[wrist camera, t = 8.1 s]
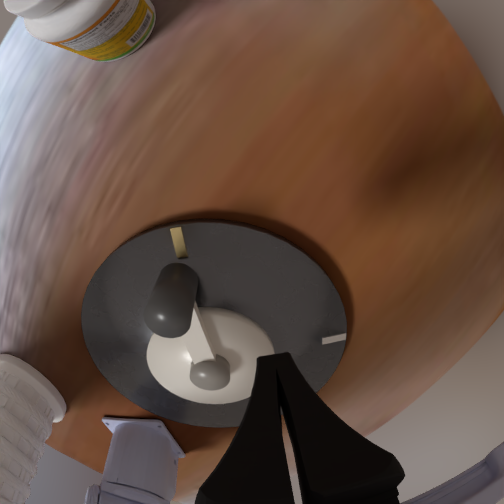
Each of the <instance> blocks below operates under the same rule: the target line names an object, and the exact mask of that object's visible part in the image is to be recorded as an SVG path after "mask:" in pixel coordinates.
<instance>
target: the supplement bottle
mask: <svg viewBox="0 0 504 504" xmlns="http://www.w3.org/2000/svg"><path fill="white" fill-rule="evenodd" d="M4 5H5V8H6V9H7V10H8V11H9V12H11V13H13V14H15V15H18V16H21V17H23V18H24V23H25V26H26V29H27V31H28V32H29V33H30V34H31V35H32V36H33V37H35V38H36V39H39V40H41V41H44V42H47V43H50V44H52V45H55V46H58V47H61V48H64V49H66V50H69V51H72V52H74V53H77V54H79V55H82V56H84V57H87V58H89V59H92V60H95V61H99V62H110V61H116V60H119V59H122V58H124V57H126V56H128V55H130V54H132V53H133V52H135V51H136V50H137V49H138V48H139V47H140V46H142V45H143V43H144V42H145V41H146V40H147V39H148V37H149V36H150V34H151V32H152V30H153V28H154V25H155V20H156V13H155V8H154V6H153V4H152V2H151V0H4Z"/></svg>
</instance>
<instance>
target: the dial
mask: <svg viewBox="0 0 504 504" xmlns="http://www.w3.org/2000/svg"><path fill="white" fill-rule="evenodd" d="M197 287H198V277H197V275H196V273H195V271H194V270H193V269H192V268H191V267H189V266H188V265H186V264H183V263H171V264H168V265H166V266H165V267H164V268H163V269H162V270H161V272H160V274H159V277H158V279H157V281H156V284H155V286H154V288H153V290H152V293H151V295H150V297H149V300H148V302H147V305H146V307H145V309H144V313H143V317H144V321H145V324H146V325H147V327H148V328H149V329H150V330H151V331H152V332H153V333H152V336H151V338H150V341H149V344H148V348H147V363H148V366H149V369H150V371H151V373H152V375H153V376H154V377H155V379H156V380H157V381H158V382H159V383H160V384H161V385H162V386H163V387H164V388H166V389H167V390H169V391H170V392H172V393H173V394H175V395H177V396H179V397H182V398H184V399H187V400H190V401H194V402H198V403H205V404H226V403H232V402H237V401H240V400H243V399H246V398H248V397H250V396H251V392H252V388H253V384H254V379H255V373H256V363H257V362H256V359H257V358H258V357H259V356H265V355H272V354H275V353H274V348H273V344H272V341H271V339H270V337H269V335H268V334H267V333H266V331H265V330H264V329H263V328H262V327H261V326H260V325H259V324H258V323H256V322H255V321H253V320H252V319H250V318H248V317H247V316H245V315H243V314H240V313H238V312H235V311H231V310H228V309H223V308H216V307H197V304H196V301H195V298H196V293H197Z"/></svg>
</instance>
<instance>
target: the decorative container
mask: <svg viewBox="0 0 504 504" xmlns="http://www.w3.org/2000/svg"><path fill="white" fill-rule="evenodd" d="M65 412H66V403H65V401H64V399H63V397H62V395H61V394H60V393H59V391H58V390H57V389H56V388H55V386H54V385H53V384H52V383H51V382H50V381H49V380H48V379H47V378H46V377H45V376H43V375H42V374H41V373H40V372H39V371H38V370H36V369H35V368H34V367H32V366H31V365H30V364H28V363H26V362H25V361H23V360H21V359H20V358H17V357H15V356H12V355H10V354H0V504H25V500H26V498H28V497H29V496H30V488H29V486H30V483H31V480H32V478H34V477H35V476H36V474H37V467H36V465H37V462H38V459H39V458H40V457H41V456H42V455H43V454H44V443H45V440H46V439H48V437H49V436H50V435H51V432H52V423H53V422H59V421H62V419H63V417H64V415H65Z"/></svg>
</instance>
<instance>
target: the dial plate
mask: <svg viewBox="0 0 504 504" xmlns="http://www.w3.org/2000/svg"><path fill="white" fill-rule="evenodd" d="M171 263H183V264H186V265H188V266H189V267H191V268H192V269H193V270H194V271H195V273H196V275H197V277H198V287H197V293H196V298H195V301H196V304H197V307H216V308H223V309H228V310H231V311H235V312H238V313H240V314H243V315H245V316H247V317H248V318H250V319H252V320H253V321H255V322H256V323H258V324H259V325H260V326H261V327H262V328H263V329H264V330H265V331H266V333H267V334H268V335H269V337H270V339H271V341H272V344H273V348H274V353H275V354H278V353H284V352H289V353H290V354H291V356H292V358H293V360H294V362H295V364H296V366H297V367H298V369H299V371H300V372H301V374H302V375H303V377H304V378H305V380H306V381H307V382H308V384H309V385H310V386H311V388H312V389H313V390H314V391H315V393H317V392H318V391H319V390H320V389H321V388H322V387H323V386H324V385H325V384H326V382H327V381H328V380H329V378H330V377H331V376H332V374H333V373H334V371H335V370H336V368H337V366H338V364H339V362H340V360H341V357H342V354H343V351H344V348H345V342H346V336H347V321H346V316H345V310H344V307H343V304H342V301H341V299H340V296H339V294H338V292H337V290H336V289H335V287H334V285H333V283H332V282H331V280H330V278H329V277H328V275H327V274H326V272H325V271H324V270H323V269H322V268H321V266H320V265H319V264H318V263H317V262H316V261H315V260H314V259H313V258H312V257H311V256H310V255H309V254H307V253H306V252H305V251H304V250H303V249H302V248H300V247H298V246H297V245H295V244H294V243H292V242H291V241H289V240H287V239H286V238H284V237H282V236H280V235H277V234H275V233H273V232H271V231H269V230H266V229H264V228H260V227H257V226H254V225H250V224H247V223H243V222H237V221H231V220H224V219H190V220H180V221H175V222H171V223H167V224H163V225H159V226H156V227H153V228H151V229H149V230H146V231H144V232H141V233H139V234H137V235H136V236H134V237H132V238H131V239H129V240H127V241H126V242H124V243H123V244H122V245H120V246H119V247H118V248H117V249H116V250H115V251H113V252H112V253H111V254H110V255H109V256H108V258H107V259H106V260H105V261H104V262H103V264H102V265H101V266H100V267H99V268H98V270H97V271H96V272H95V274H94V276H93V277H92V279H91V281H90V283H89V285H88V287H87V290H86V293H85V296H84V299H83V305H82V312H81V317H82V330H83V336H84V340H85V343H86V346H87V349H88V351H89V353H90V355H91V357H92V359H93V361H94V363H95V365H96V366H97V368H98V369H99V371H100V372H101V373H102V375H103V376H104V377H105V378H106V379H107V381H108V382H109V383H110V384H111V385H112V386H113V387H114V388H115V389H116V390H118V391H119V392H120V393H121V394H122V395H124V396H125V397H126V398H128V399H129V400H130V401H132V402H133V403H135V404H137V405H138V406H140V407H142V408H143V409H145V410H147V411H149V412H151V413H154V414H156V415H158V416H161V417H164V418H166V419H169V420H173V421H176V422H180V423H184V424H189V425H194V426H203V427H237V426H240V424H241V421H242V419H243V416H244V414H245V411H246V408H247V405H248V402H249V399H250V397H248V398H246V399H243V400H240V401H237V402H232V403H226V404H205V403H198V402H194V401H190V400H187V399H184V398H182V397H179V396H177V395H175V394H173V393H172V392H170V391H169V390H167V389H166V388H164V387H163V386H162V385H161V384H160V383H159V382H158V381H157V380H156V379H155V377H154V376H153V375H152V373H151V371H150V369H149V366H148V363H147V348H148V344H149V341H150V338H151V336H152V333H153V332H152V331H151V330H150V329H149V328H148V327H147V325H146V324H145V321H144V317H143V313H144V309H145V307H146V305H147V302H148V300H149V297H150V295H151V293H152V290H153V288H154V286H155V284H156V281H157V279H158V277H159V274H160V272H161V270H162V269H163V268H164V267H165V266H166V265H168V264H171ZM280 407H281V405H280ZM281 415H283V412H282V409H281Z"/></svg>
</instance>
